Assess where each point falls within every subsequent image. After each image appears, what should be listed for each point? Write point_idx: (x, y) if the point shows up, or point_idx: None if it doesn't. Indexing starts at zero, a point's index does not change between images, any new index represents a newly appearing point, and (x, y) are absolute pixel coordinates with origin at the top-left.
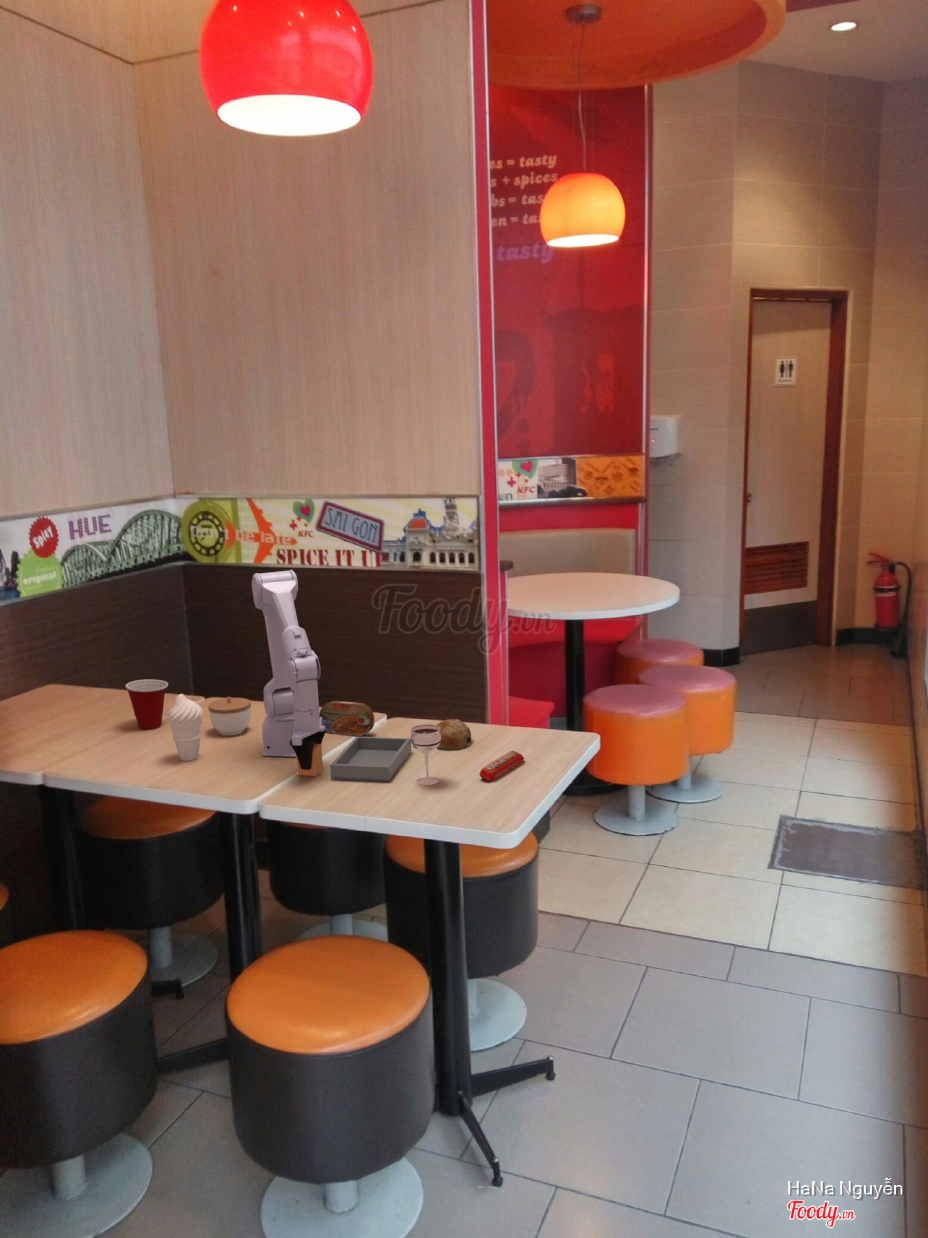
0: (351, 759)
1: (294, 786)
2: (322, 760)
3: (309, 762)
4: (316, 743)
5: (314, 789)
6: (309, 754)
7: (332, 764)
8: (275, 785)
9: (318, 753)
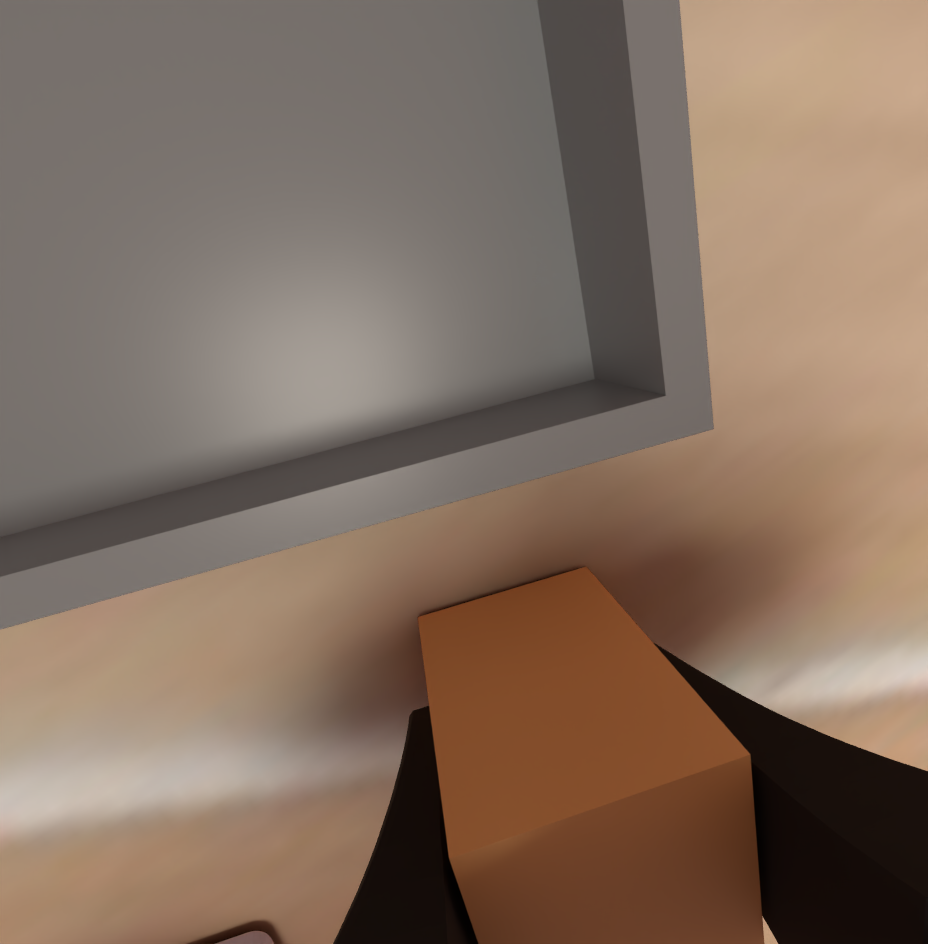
0: (86, 497)
1: (801, 589)
2: (426, 669)
3: (705, 680)
4: (460, 926)
5: (837, 411)
6: (823, 740)
7: (694, 408)
8: (802, 710)
9: (571, 725)
